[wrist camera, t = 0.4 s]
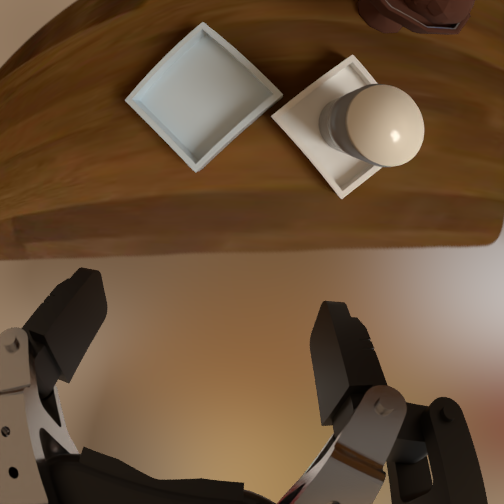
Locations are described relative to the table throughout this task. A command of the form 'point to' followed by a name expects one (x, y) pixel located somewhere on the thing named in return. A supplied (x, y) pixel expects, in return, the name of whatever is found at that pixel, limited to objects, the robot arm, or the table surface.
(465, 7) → the ice cream bowl
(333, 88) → the tray
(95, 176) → the table surface
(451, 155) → the table surface
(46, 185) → the table surface
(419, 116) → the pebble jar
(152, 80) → the glazed dish
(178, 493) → the robot arm
